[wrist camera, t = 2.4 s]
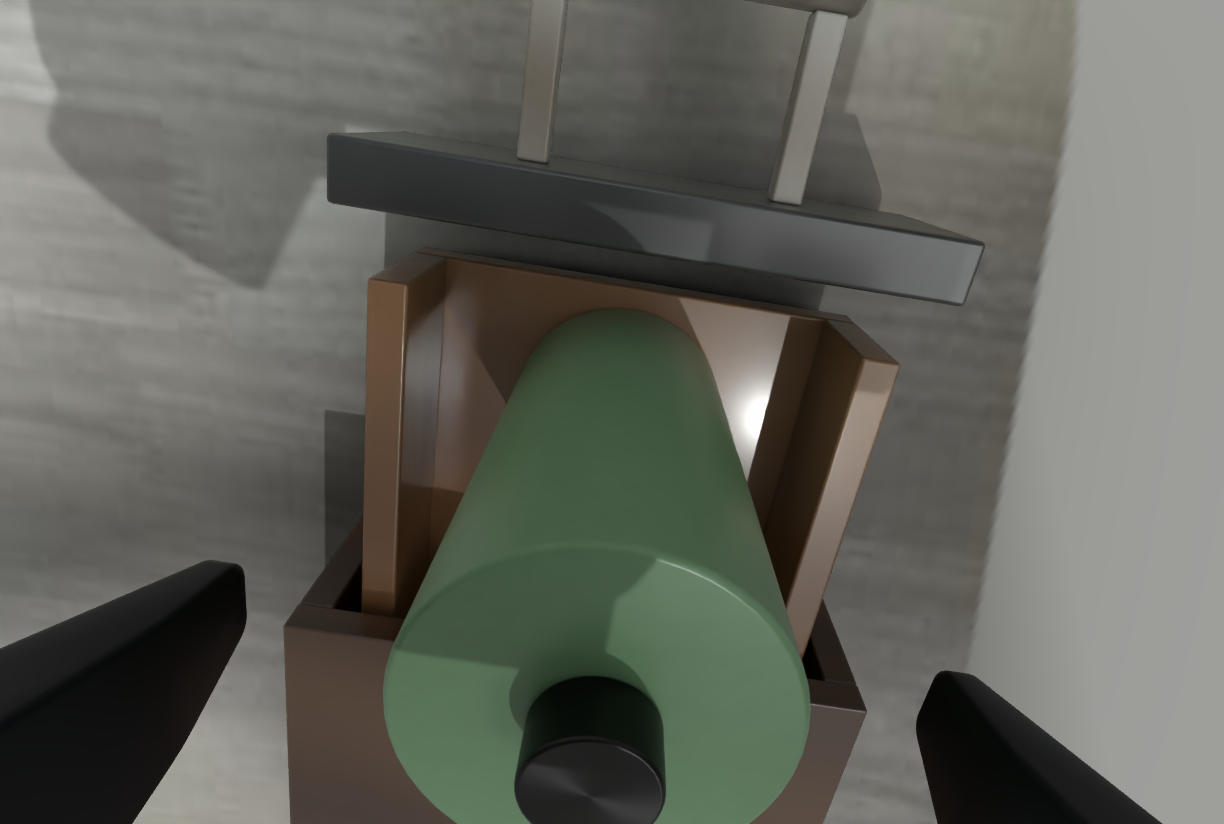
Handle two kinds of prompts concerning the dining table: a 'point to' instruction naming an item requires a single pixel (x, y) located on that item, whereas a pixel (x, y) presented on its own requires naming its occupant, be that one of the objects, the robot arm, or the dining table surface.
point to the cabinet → (365, 758)
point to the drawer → (547, 297)
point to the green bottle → (602, 605)
